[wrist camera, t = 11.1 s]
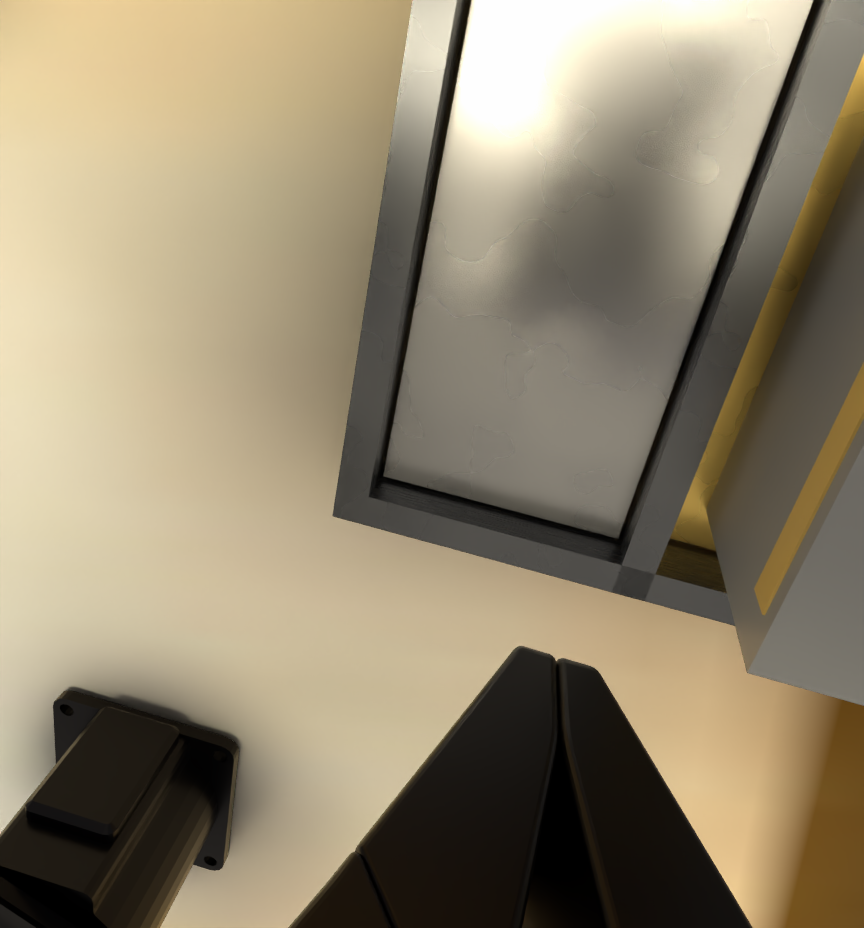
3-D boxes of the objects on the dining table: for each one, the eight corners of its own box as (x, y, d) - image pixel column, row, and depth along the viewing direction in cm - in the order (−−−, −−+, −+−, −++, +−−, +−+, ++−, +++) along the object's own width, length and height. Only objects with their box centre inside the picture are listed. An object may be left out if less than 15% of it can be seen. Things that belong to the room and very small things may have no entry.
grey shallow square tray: (920, 631, 20) (953, 685, 18) (355, 479, 21) (332, 516, 19) (1315, -1, 13) (1424, -14, 11) (462, -165, 14) (443, -200, 13)
